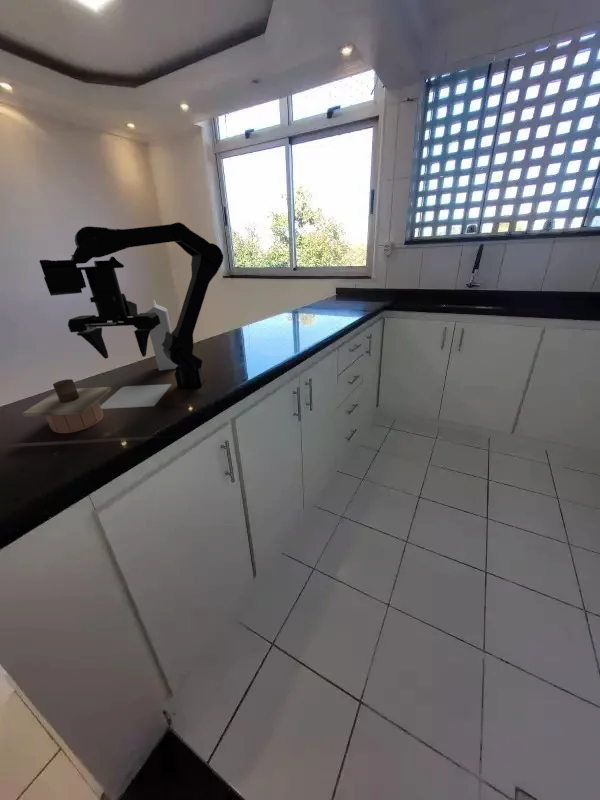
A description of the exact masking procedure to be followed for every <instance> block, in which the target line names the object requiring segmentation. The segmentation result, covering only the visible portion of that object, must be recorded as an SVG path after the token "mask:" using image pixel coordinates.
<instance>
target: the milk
mask: <svg viewBox="0 0 600 800" xmlns="http://www.w3.org/2000/svg"><path fill="white" fill-rule="evenodd" d="M151 302H152V306H151V307H149V309H147V310H146V311H145V312H144V313H156V314H157V315H158V316H159V319H160V323H161V324H159V325H157V326H156V327H155V328H154V329H152V330H151V331H150V333H149V337H150V341H151V344H152V347H153V348H152V349H153V353H154V357H155V360H156V365H157V369H158V371H166V370H175V368H176V367H177V366H178V365H176V364H174V363H173V362H172V361H171V360H169V359H168V358H167V357H166V356H165V354H164V352H163V348H164V347H163V346H162V344H163V342H164V340H165V334H166V332H169V333H172V332H173V328H172V324H171V321H170V320H171V319H170V317H169V316H170V315H169V311H168V308H166V307H164V306H161V305H160V304H157V302H156V299H153V300H152V301H151Z"/></svg>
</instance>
